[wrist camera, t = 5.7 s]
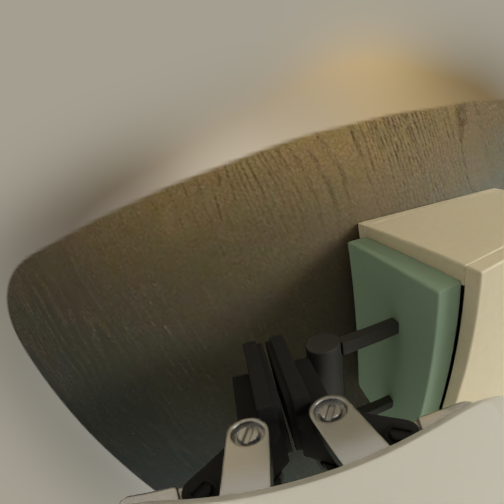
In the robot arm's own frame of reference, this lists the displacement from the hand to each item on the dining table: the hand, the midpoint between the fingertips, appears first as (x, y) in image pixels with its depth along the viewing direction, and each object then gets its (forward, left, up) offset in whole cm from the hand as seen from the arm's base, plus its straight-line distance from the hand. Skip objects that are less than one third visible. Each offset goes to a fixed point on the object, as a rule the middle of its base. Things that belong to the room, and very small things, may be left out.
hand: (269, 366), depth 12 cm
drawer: (+2, +10, -4) cm, 11 cm away
